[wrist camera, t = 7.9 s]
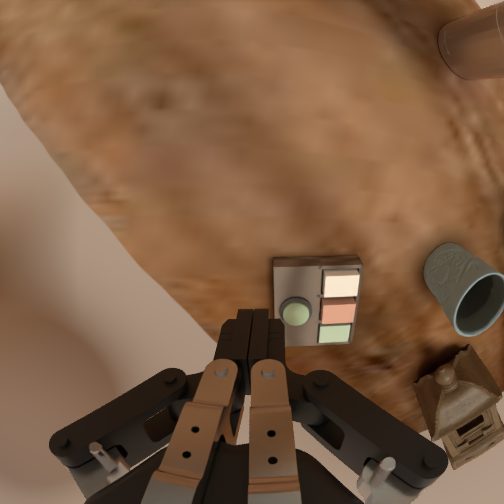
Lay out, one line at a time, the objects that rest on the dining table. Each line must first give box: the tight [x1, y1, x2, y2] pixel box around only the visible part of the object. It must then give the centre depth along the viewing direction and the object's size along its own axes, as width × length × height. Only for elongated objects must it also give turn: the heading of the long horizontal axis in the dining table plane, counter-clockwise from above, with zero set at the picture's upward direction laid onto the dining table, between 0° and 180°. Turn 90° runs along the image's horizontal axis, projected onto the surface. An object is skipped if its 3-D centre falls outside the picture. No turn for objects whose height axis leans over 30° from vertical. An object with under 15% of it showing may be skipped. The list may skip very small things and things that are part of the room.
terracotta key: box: [320, 296, 356, 324], centre depth 41 cm, size 5×3×2 cm
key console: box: [274, 255, 363, 346], centre depth 43 cm, size 12×14×4 cm
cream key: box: [322, 268, 360, 297], centre depth 39 cm, size 5×3×2 cm
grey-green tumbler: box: [423, 243, 504, 337], centre depth 35 cm, size 10×10×12 cm
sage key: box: [317, 323, 351, 343], centre depth 44 cm, size 5×3×2 cm
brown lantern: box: [413, 345, 504, 470], centre depth 44 cm, size 35×18×18 cm, turn 41°
